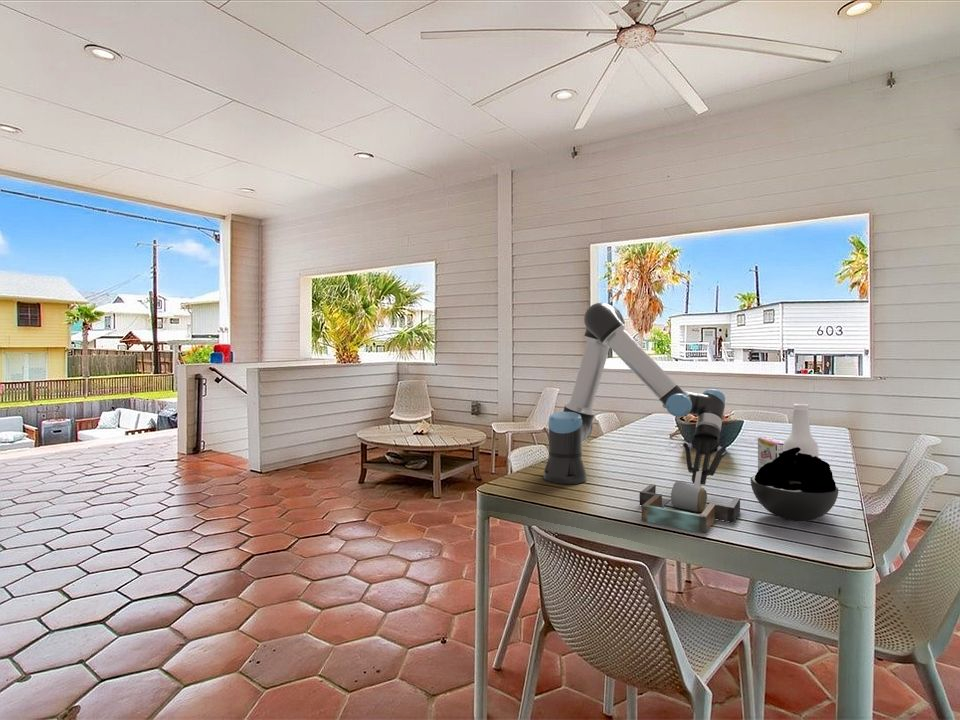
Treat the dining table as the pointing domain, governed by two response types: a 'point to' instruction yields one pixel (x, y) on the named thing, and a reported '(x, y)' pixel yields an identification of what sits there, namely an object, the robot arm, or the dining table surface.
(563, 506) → the dining table surface
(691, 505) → the grey cylinder
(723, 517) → the box
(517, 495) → the dining table surface
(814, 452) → the alcohol
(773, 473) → the bowl of black rocks
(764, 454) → the candy bar box
